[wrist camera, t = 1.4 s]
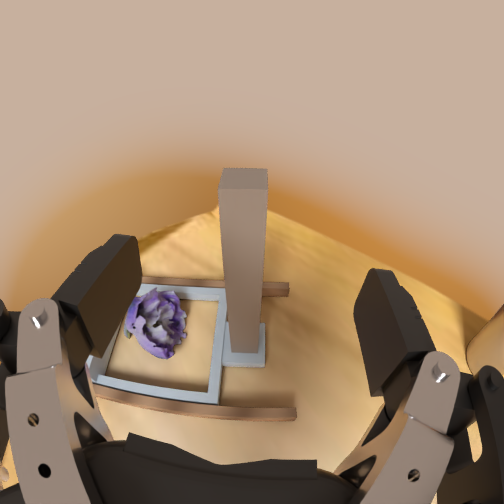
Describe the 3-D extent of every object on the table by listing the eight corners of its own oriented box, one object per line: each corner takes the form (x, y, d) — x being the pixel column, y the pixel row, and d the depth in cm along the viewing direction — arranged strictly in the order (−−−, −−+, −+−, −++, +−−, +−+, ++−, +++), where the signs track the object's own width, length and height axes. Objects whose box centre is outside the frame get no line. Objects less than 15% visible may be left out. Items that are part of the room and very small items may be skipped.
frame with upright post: (91, 384, 28) (-21, 252, 12) (125, 288, 40) (76, 152, 25) (263, 408, 28) (290, 267, 12) (264, 296, 40) (275, 140, 25)
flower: (88, 338, 27) (147, 300, 26) (110, 304, 35) (161, 269, 34) (139, 388, 30) (200, 360, 29) (150, 349, 38) (202, 320, 37)
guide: (78, 390, 27) (71, 385, 26) (118, 281, 42) (114, 274, 41) (294, 420, 27) (296, 417, 25) (287, 290, 41) (288, 282, 40)
